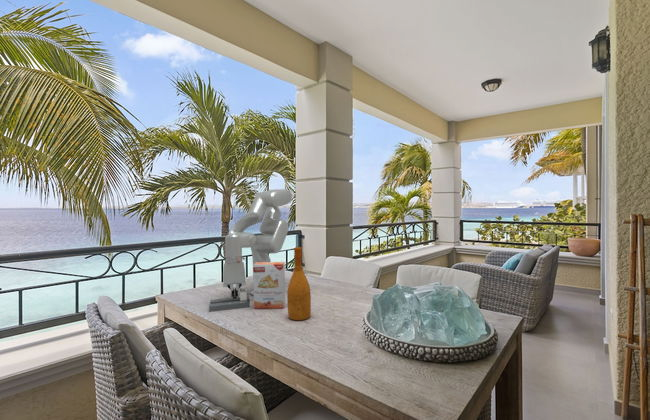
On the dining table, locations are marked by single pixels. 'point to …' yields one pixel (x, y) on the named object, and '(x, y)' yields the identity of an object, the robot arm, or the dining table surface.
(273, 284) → the cracker box
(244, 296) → the block
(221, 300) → the board
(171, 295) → the dining table surface
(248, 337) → the dining table surface
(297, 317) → the wine bottle
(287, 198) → the robot arm
